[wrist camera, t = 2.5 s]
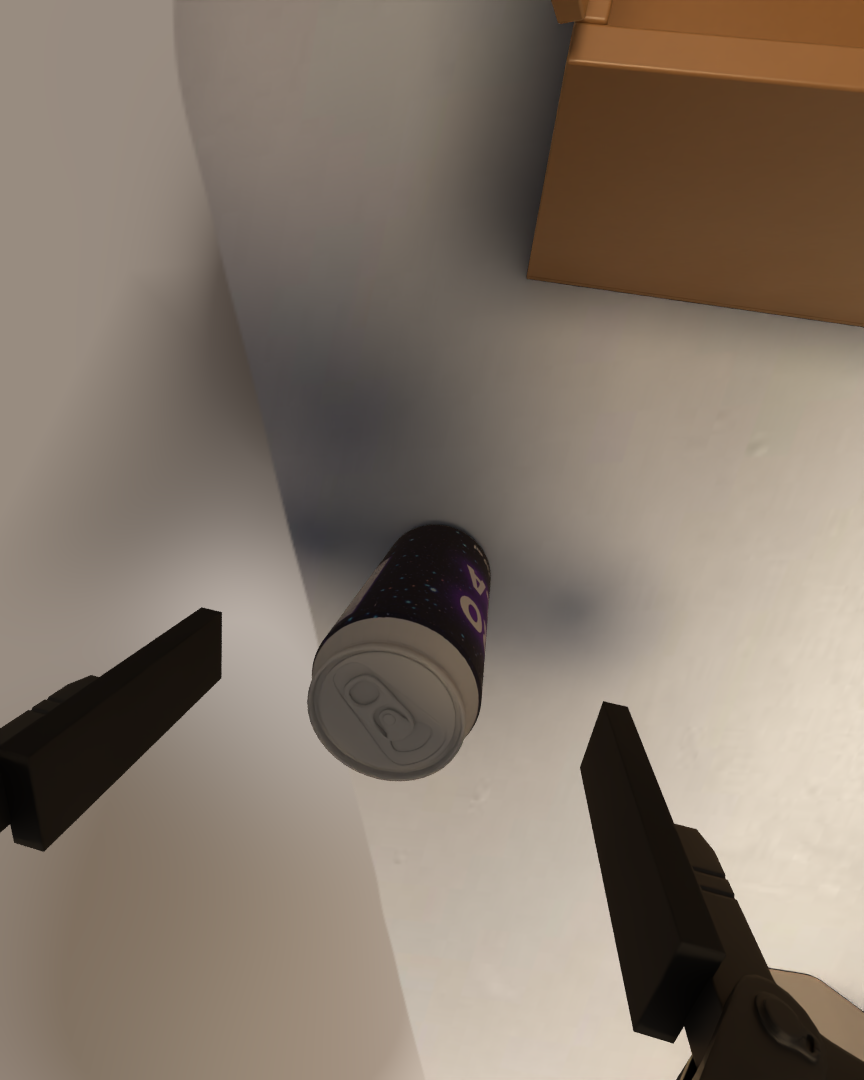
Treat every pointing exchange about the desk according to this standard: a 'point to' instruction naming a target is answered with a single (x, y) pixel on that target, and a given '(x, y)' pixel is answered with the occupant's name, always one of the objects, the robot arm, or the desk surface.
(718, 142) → the carton
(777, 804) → the desk surface
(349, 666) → the beverage can
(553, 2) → the flap
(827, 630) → the desk surface
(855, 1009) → the tall recessed triangular prism
